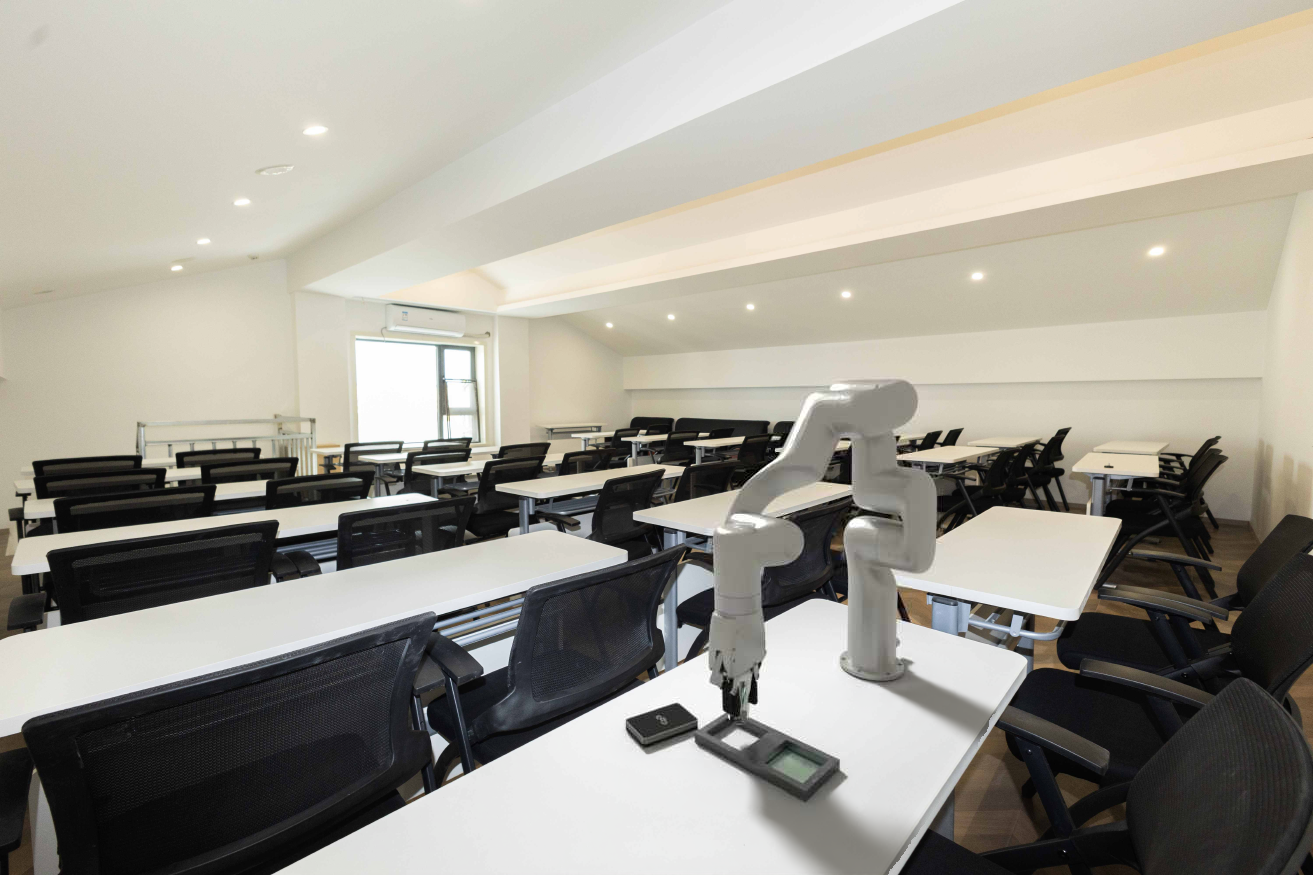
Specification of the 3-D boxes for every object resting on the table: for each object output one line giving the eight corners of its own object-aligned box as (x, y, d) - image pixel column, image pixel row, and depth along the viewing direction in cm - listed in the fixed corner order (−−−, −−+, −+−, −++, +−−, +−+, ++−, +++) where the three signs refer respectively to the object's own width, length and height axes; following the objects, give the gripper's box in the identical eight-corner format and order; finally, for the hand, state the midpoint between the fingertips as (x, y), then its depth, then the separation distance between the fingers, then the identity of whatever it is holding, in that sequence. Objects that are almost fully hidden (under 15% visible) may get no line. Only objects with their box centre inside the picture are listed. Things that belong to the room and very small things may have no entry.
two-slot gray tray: (731, 717, 105) (731, 708, 105) (839, 769, 90) (839, 759, 90) (694, 741, 98) (694, 732, 98) (805, 801, 83) (805, 791, 83)
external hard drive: (699, 730, 102) (699, 719, 101) (643, 751, 96) (643, 739, 96) (677, 712, 108) (677, 701, 107) (623, 730, 102) (623, 719, 102)
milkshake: (756, 728, 95) (756, 669, 95) (723, 725, 96) (722, 666, 96) (757, 713, 100) (757, 656, 99) (726, 710, 101) (725, 654, 100)
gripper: (749, 581, 105) (751, 680, 106) (686, 610, 93) (689, 720, 95) (786, 591, 99) (787, 695, 101) (723, 623, 87) (726, 739, 89)
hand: (740, 706), depth 98 cm, fingers closed on milkshake, 4 cm apart
